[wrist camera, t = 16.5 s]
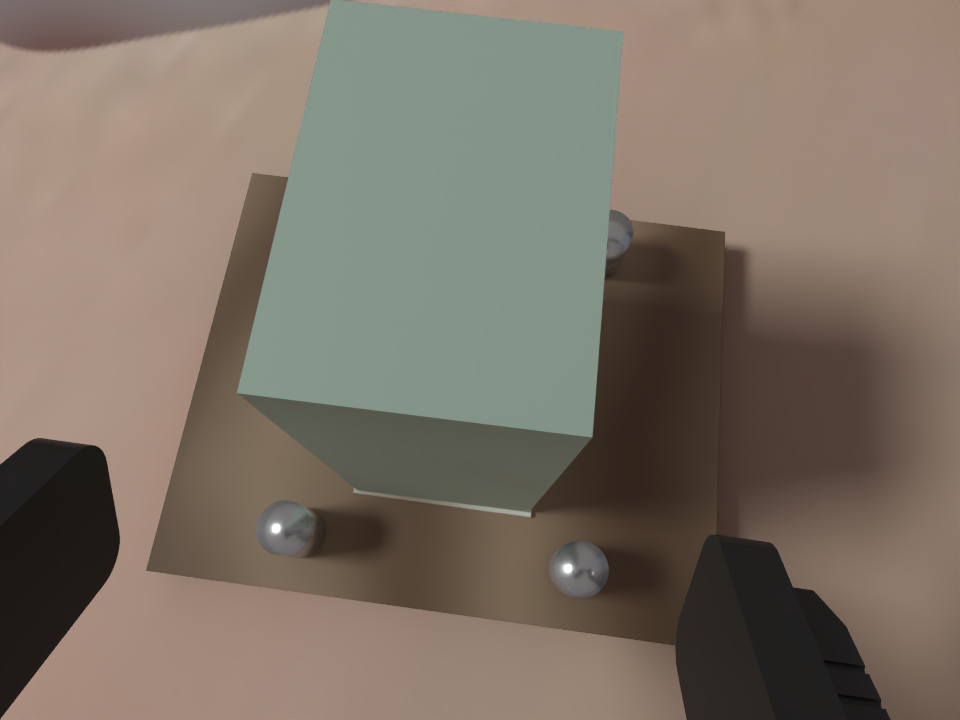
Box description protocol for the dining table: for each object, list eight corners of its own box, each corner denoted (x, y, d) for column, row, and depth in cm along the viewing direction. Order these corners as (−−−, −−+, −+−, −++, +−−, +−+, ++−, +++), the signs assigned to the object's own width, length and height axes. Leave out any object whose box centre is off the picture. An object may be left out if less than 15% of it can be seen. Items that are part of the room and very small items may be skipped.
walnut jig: (713, 248, 24) (747, 200, 21) (699, 646, 20) (740, 658, 17) (262, 191, 25) (232, 137, 22) (164, 571, 21) (111, 569, 18)
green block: (551, 290, 22) (623, 31, 12) (528, 512, 20) (592, 437, 10) (396, 272, 22) (331, -1, 12) (358, 490, 20) (236, 392, 10)
